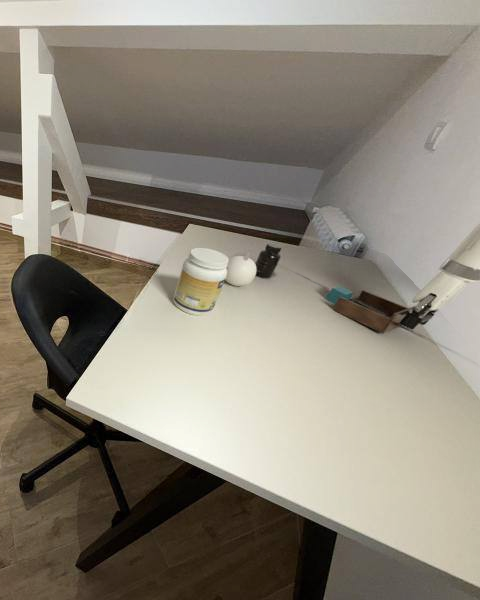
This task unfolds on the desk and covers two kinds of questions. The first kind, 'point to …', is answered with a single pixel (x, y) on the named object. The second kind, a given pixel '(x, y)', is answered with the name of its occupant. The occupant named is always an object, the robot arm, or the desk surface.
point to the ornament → (240, 270)
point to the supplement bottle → (268, 260)
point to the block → (338, 294)
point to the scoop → (372, 317)
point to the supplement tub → (200, 281)
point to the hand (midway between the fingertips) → (412, 323)
